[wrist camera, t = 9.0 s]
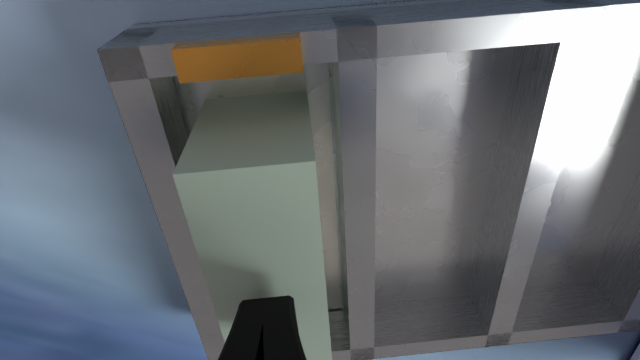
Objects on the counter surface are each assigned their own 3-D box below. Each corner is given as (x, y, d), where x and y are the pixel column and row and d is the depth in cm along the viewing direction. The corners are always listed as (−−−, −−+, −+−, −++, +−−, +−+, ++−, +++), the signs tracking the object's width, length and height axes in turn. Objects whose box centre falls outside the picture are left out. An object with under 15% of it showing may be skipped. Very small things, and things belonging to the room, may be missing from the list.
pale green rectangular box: (306, 90, 13) (315, 161, 9) (325, 302, 18) (335, 402, 15) (205, 99, 13) (172, 174, 9) (254, 310, 18) (246, 412, 14)
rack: (731, -27, 13) (860, -11, 10) (598, 282, 20) (650, 342, 17) (133, 24, 12) (87, 56, 9) (222, 321, 20) (211, 389, 17)
